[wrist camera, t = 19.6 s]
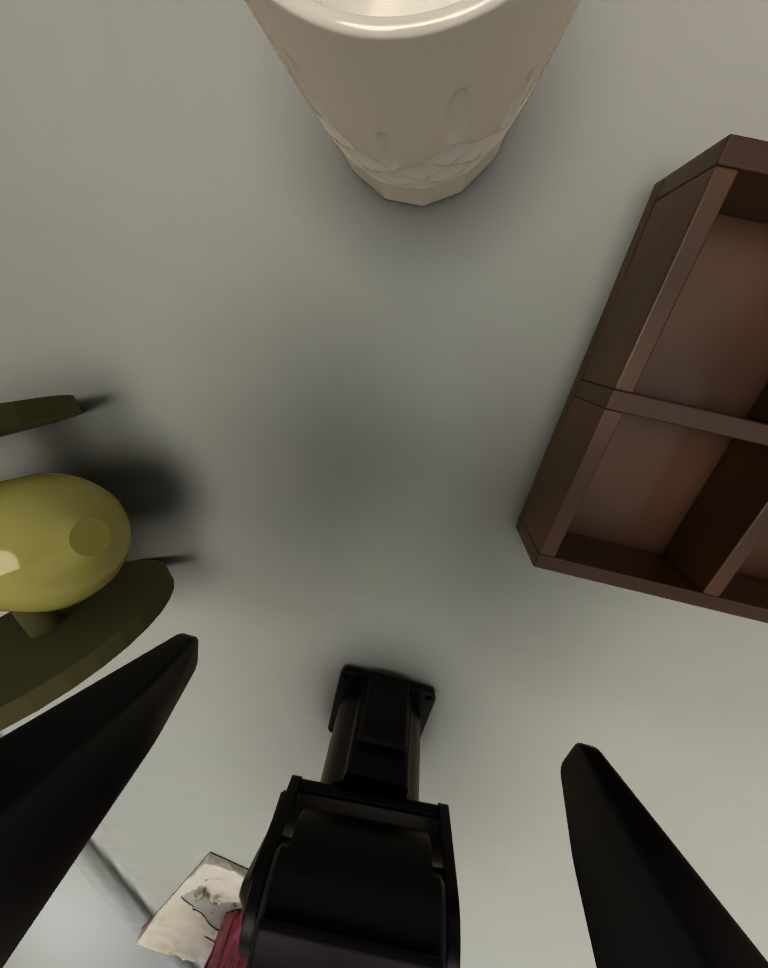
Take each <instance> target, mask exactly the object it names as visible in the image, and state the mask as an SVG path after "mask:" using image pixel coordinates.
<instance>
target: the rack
mask: <svg viewBox="0 0 768 968" xmlns="http://www.w3.org/2000/svg"><path fill="white" fill-rule="evenodd" d="M516 529H517V531H518V532H519V535H520V537H521V540H522V542H523V544H524V546H525V548H526V551H527V553H528V555H529V557H530V559H531V562H532V564H533V566H535V567H539V568H543V569H547V570H551V571H555V572H559V573H563V574H568V575H572V576H576V577H580V578H584V579H588V580H592V581H596V582H600V583H605V584H609V585H613V586H617V587H621V588H625V589H629V590H633V591H638V592H642V593H646V594H650V595H654V596H658V597H662V598H666V599H670V600H675V601H679V602H683V603H687V604H691V605H695V606H699V607H703V608H708V609H712V610H716V611H720V612H724V613H728V614H732V615H736V616H740V617H745V618H749V619H753V620H757V621H761V622H765V623H768V142H767V141H762V140H758V139H753V138H748V137H743V136H738V135H734V134H730V135H728V136H727V137H725V138H724V139H722V140H721V141H719V142H718V143H716V144H715V145H713V146H712V147H710V148H709V149H707V150H706V151H704V152H703V153H701V154H700V155H698V156H697V157H695V158H694V159H692V160H691V161H689V162H688V163H686V164H685V165H683V166H682V167H680V168H679V169H677V170H676V171H674V172H673V173H671V174H670V175H668V176H667V177H666V178H664V179H662V180H661V181H659V182H658V183H656V185H655V188H654V190H653V192H652V195H651V197H650V200H649V202H648V205H647V207H646V210H645V212H644V214H643V217H642V219H641V222H640V224H639V227H638V229H637V232H636V234H635V236H634V239H633V241H632V244H631V246H630V249H629V251H628V253H627V256H626V258H625V261H624V263H623V266H622V268H621V271H620V273H619V275H618V278H617V280H616V283H615V285H614V288H613V290H612V293H611V295H610V297H609V300H608V302H607V305H606V307H605V310H604V312H603V315H602V317H601V319H600V322H599V324H598V327H597V329H596V332H595V334H594V337H593V339H592V341H591V344H590V346H589V349H588V351H587V354H586V356H585V359H584V361H583V363H582V366H581V368H580V371H579V373H578V376H577V378H576V380H575V383H574V385H573V388H572V390H571V393H570V395H569V398H568V400H567V402H566V405H565V407H564V410H563V412H562V415H561V417H560V420H559V422H558V424H557V427H556V429H555V432H554V434H553V437H552V439H551V442H550V444H549V446H548V449H547V451H546V454H545V456H544V459H543V461H542V464H541V466H540V468H539V471H538V473H537V476H536V478H535V481H534V483H533V485H532V488H531V490H530V493H529V495H528V498H527V500H526V503H525V505H524V507H523V510H522V512H521V515H520V517H519V520H518V522H517V525H516Z"/></svg>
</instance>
